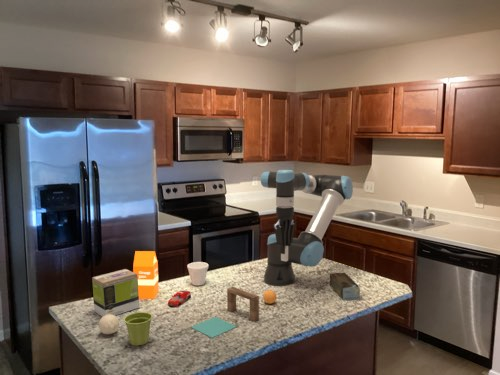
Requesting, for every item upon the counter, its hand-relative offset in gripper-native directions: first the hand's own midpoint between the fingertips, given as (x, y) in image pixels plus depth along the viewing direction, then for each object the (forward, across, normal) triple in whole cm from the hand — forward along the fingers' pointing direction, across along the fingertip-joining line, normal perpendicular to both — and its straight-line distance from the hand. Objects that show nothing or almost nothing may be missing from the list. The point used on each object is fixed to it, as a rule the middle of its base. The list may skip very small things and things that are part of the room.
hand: (284, 260), depth 182 cm
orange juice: (+17, -40, +45) cm, 63 cm away
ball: (+14, -10, 0) cm, 17 cm away
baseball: (+17, -70, +23) cm, 75 cm away
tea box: (+17, -58, +40) cm, 72 cm away
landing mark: (+16, -40, 0) cm, 44 cm away
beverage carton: (+17, +23, -16) cm, 33 cm away
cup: (+17, -16, +40) cm, 46 cm away
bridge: (+16, -26, 0) cm, 30 cm away
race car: (+17, -34, +29) cm, 48 cm away
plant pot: (+17, -66, +10) cm, 68 cm away
